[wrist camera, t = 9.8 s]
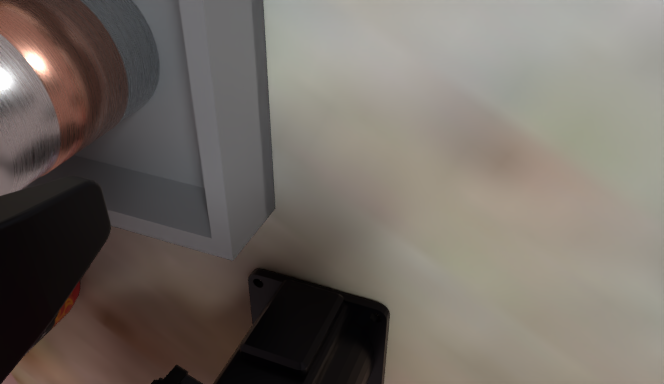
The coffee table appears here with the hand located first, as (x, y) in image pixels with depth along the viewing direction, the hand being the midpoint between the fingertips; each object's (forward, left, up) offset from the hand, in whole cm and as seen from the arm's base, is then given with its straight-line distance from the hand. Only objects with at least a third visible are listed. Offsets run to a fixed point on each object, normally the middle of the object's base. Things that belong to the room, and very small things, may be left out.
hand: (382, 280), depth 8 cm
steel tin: (-3, +15, -11) cm, 19 cm away
